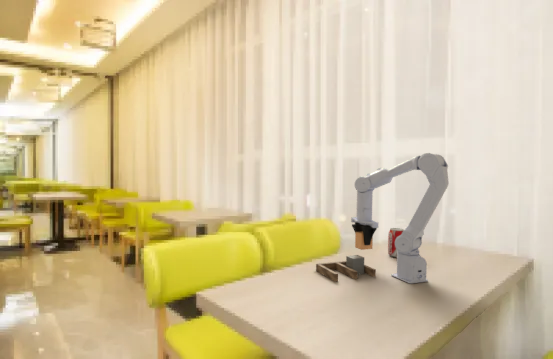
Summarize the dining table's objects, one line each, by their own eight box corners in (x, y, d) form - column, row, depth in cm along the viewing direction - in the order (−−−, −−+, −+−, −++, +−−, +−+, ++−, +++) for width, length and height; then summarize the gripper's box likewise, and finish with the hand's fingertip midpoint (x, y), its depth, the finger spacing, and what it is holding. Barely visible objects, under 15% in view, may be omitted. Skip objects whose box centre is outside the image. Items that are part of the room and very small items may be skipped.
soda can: (402, 259, 142) (402, 231, 142) (385, 256, 146) (386, 229, 146) (406, 255, 148) (407, 229, 147) (390, 253, 152) (391, 227, 152)
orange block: (372, 248, 126) (372, 233, 126) (361, 249, 124) (361, 233, 124) (366, 246, 130) (366, 231, 130) (355, 247, 128) (355, 231, 128)
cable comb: (375, 276, 117) (375, 269, 117) (334, 281, 111) (335, 274, 111) (353, 266, 129) (353, 260, 129) (316, 270, 123) (316, 263, 123)
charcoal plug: (364, 274, 120) (364, 257, 120) (352, 275, 118) (352, 258, 118) (357, 270, 124) (357, 254, 124) (346, 272, 122) (346, 255, 122)
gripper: (345, 206, 132) (344, 240, 132) (367, 210, 119) (366, 248, 119) (360, 206, 135) (359, 239, 135) (383, 210, 121) (382, 247, 121)
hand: (363, 243), depth 127 cm, fingers closed on orange block, 4 cm apart
